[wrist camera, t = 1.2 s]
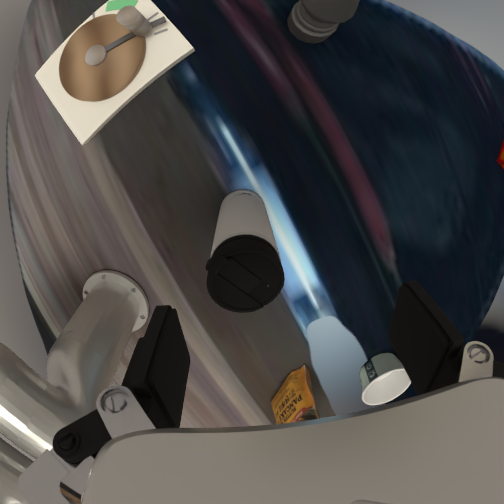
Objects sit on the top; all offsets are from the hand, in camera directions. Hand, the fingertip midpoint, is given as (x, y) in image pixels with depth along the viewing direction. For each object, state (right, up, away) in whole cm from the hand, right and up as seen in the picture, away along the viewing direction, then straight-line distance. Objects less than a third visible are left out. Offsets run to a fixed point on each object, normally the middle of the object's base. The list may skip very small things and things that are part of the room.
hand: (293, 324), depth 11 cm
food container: (+26, -23, +45) cm, 57 cm away
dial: (-20, +30, +17) cm, 39 cm away
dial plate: (-22, +30, +18) cm, 41 cm away
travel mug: (-3, +9, +29) cm, 31 cm away
